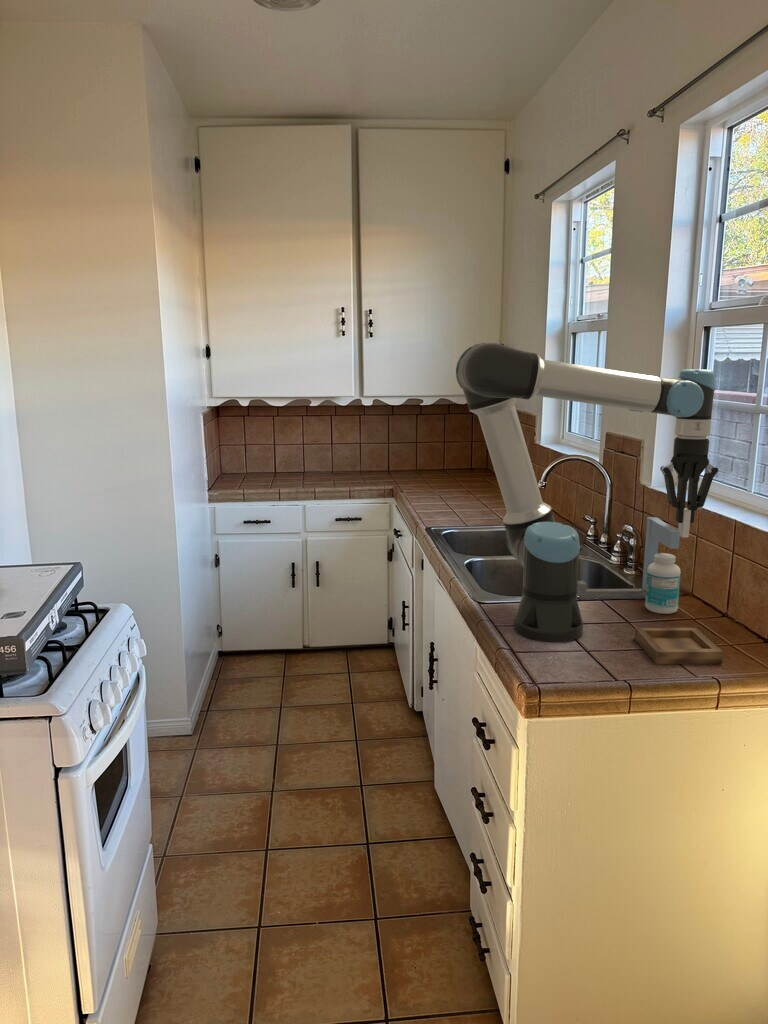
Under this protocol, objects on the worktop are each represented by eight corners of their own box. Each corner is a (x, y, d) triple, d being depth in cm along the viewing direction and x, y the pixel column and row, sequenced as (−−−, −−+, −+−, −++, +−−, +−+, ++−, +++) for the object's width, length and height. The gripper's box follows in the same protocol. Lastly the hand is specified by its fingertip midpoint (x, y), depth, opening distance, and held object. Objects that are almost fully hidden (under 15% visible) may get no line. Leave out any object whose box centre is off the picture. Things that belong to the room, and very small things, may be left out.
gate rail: (579, 599, 183) (580, 584, 183) (576, 595, 186) (577, 580, 185) (672, 599, 183) (673, 584, 182) (667, 595, 186) (669, 580, 185)
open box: (656, 663, 145) (657, 651, 145) (634, 638, 158) (635, 628, 157) (721, 663, 145) (722, 651, 145) (694, 638, 158) (695, 627, 157)
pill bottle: (651, 602, 181) (655, 549, 178) (681, 608, 176) (686, 554, 174) (640, 610, 175) (643, 556, 173) (671, 617, 171) (675, 561, 168)
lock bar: (664, 607, 171) (670, 531, 167) (642, 587, 185) (647, 517, 182) (674, 607, 171) (680, 531, 167) (651, 587, 185) (656, 517, 182)
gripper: (669, 438, 166) (661, 539, 170) (727, 438, 166) (717, 539, 170) (657, 435, 173) (650, 532, 178) (713, 435, 173) (703, 532, 178)
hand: (683, 535), depth 174 cm, fingers closed
